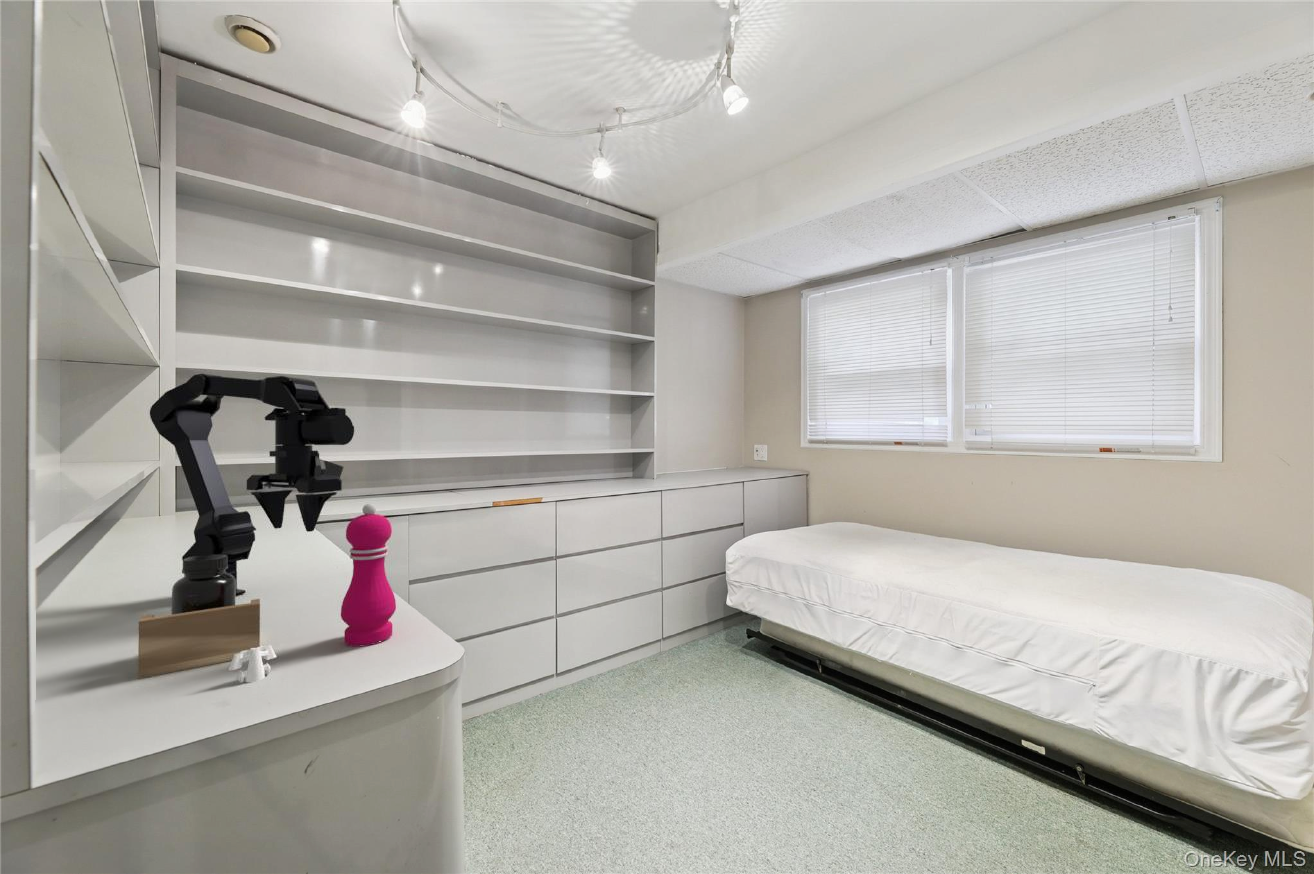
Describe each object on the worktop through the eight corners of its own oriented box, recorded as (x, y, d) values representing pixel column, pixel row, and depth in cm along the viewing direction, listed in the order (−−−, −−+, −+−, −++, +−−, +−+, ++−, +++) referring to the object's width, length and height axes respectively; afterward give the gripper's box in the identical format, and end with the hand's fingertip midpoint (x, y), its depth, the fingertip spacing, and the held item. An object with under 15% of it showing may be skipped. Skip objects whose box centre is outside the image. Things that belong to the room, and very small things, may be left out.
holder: (151, 651, 74) (151, 600, 74) (258, 632, 82) (258, 586, 82) (138, 678, 66) (138, 621, 66) (259, 654, 73) (259, 603, 73)
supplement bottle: (180, 657, 69) (181, 565, 70) (163, 646, 73) (163, 559, 73) (243, 640, 75) (244, 555, 75) (224, 631, 79) (225, 550, 79)
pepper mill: (405, 630, 82) (406, 501, 82) (376, 648, 75) (377, 506, 75) (361, 629, 83) (362, 500, 83) (328, 647, 76) (329, 506, 76)
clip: (274, 669, 68) (274, 640, 68) (281, 673, 67) (281, 643, 67) (226, 684, 64) (226, 653, 64) (232, 688, 63) (232, 656, 63)
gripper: (368, 445, 102) (368, 526, 102) (304, 445, 110) (304, 521, 109) (310, 445, 92) (310, 535, 92) (244, 445, 99) (244, 529, 99)
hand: (293, 529), depth 98 cm, fingers open, 9 cm apart
